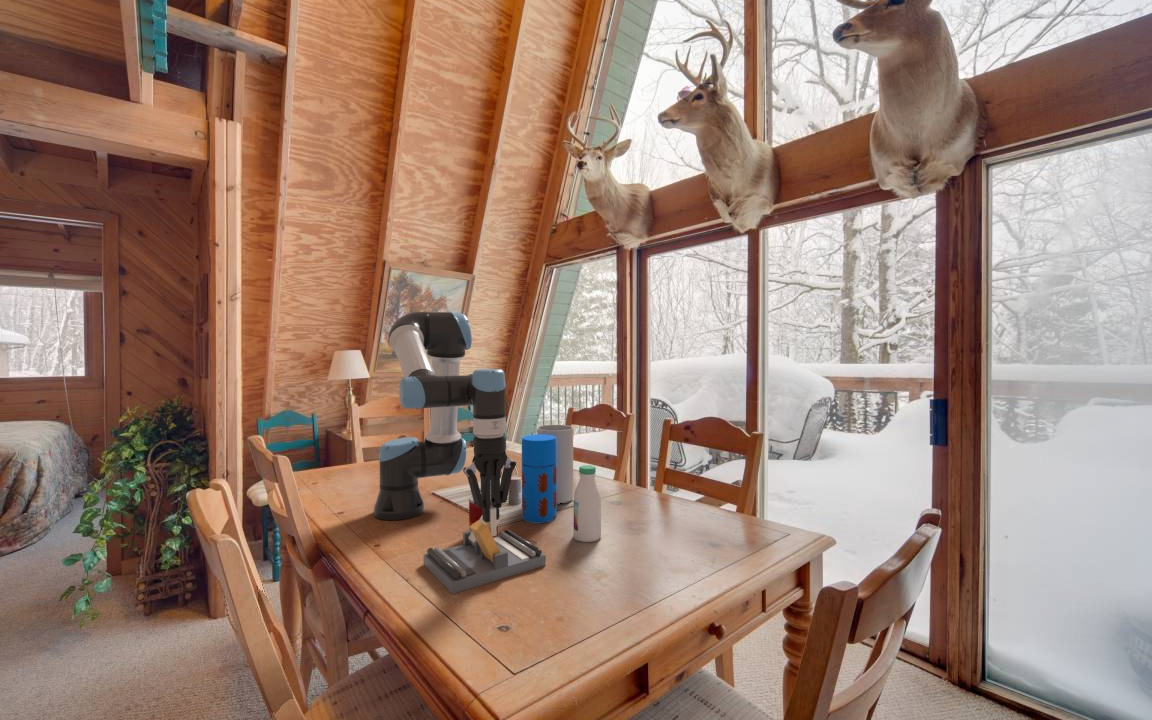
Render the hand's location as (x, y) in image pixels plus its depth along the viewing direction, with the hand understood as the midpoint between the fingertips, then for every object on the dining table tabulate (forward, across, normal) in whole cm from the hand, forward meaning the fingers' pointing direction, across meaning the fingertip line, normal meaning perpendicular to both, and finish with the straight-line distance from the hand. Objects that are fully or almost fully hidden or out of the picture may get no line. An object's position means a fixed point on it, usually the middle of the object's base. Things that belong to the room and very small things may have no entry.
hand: (491, 534), depth 120 cm
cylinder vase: (+10, +44, +38) cm, 59 cm away
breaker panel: (+9, 0, +5) cm, 11 cm away
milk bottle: (+10, +32, +4) cm, 33 cm away
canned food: (+10, +9, +22) cm, 25 cm away
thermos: (+10, +30, +26) cm, 40 cm away
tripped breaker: (+6, 0, 0) cm, 6 cm away
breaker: (+6, +1, +10) cm, 11 cm away
